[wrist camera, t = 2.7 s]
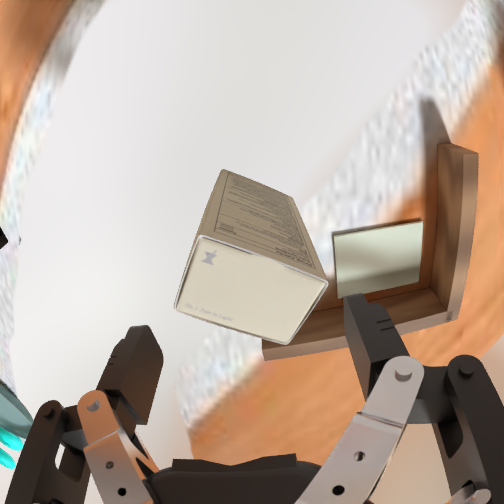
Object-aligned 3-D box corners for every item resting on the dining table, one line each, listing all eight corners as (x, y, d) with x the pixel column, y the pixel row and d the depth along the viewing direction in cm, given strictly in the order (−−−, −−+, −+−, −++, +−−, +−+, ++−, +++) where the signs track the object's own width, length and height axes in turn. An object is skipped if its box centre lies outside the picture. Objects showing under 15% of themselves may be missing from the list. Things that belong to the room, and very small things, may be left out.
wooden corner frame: (226, 172, 23) (221, 186, 20) (451, 143, 21) (478, 153, 18) (264, 331, 31) (264, 360, 27) (440, 295, 29) (457, 319, 25)
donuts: (18, 473, 46) (5, 468, 48) (29, 445, 55) (15, 443, 57) (-10, 451, 42) (-22, 447, 44) (3, 423, 51) (-9, 422, 53)
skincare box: (202, 215, 25) (165, 310, 14) (223, 165, 23) (193, 230, 12) (274, 243, 26) (286, 350, 15) (298, 196, 24) (332, 283, 13)
